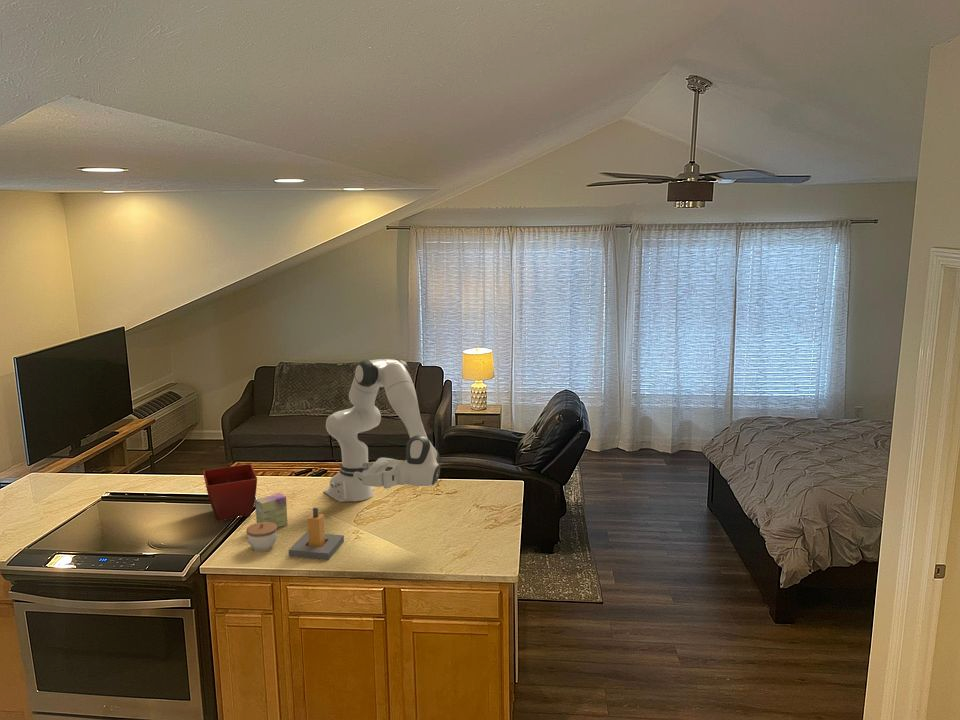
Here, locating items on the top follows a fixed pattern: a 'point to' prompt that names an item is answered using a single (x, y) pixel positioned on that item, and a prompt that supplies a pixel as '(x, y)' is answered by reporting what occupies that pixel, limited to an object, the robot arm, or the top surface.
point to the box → (272, 509)
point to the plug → (316, 529)
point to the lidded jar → (262, 535)
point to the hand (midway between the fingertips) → (358, 469)
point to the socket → (324, 552)
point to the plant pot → (231, 490)
